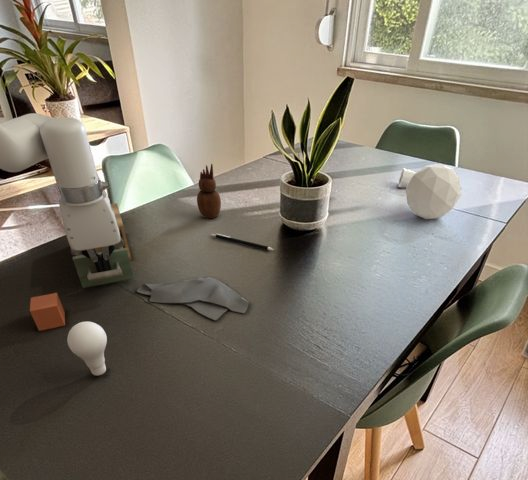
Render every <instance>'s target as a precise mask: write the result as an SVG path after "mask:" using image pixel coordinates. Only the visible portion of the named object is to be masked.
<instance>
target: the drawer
mask: <svg viewBox="0 0 528 480" xmlns="http://www.w3.org/2000/svg"><path fill="white" fill-rule="evenodd" d="M95 250H96V252H97V254H99V256H100V257H101V256H102V255H101V254H102V247H100V248H95ZM101 260H102V259H101ZM72 261H73V264H74V267H75V270H76V273H77V276H78V278H79V282H80V285H81V287H82V289H85V288H91V287H96V286H101V285H106V284H111V283H116V282H122V281H127V280H132V279H135V277H134V273H133V269H132V265H131V260H129V256H128V252H127V248H123V247H120V248H118V249H115V250H114V251H113V252H112V254H111V255H110V257H109V262H110V265H111V269H112V270H109V271H104V272H98V273H97V269H96V266H95V263H94V262H93V261H92V260H91V259H89V258H87V257H86V256H84V255H76V256H75V255H74V256H72Z"/></svg>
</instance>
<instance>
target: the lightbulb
mask: <svg viewBox="0 0 528 480" xmlns="http://www.w3.org/2000/svg"><path fill="white" fill-rule="evenodd" d="M107 337H108V336H107V333H106V331H105V330H104V328H103V327H102V326H101V325H100V324H97V323H96V322H93V321H81V322H78V323H76V324H75V325H73V326H72V327H71V328H70V330H69V331H68V334H67V340H66V342H67V346H68V348H69V349H70V351H71V353H73V354H74V355H76V356H77V357H78V358H80V359H82V360H83V362H84V363H85V365H86V367H88V369H89V370H90V373H91V374H92V375H93V376H98V377H99V376H102V375H104V374H105V373H106V371H107V367H106V363H105V362H106V358H105V350H106V346H107V343H108V338H107Z"/></svg>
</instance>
